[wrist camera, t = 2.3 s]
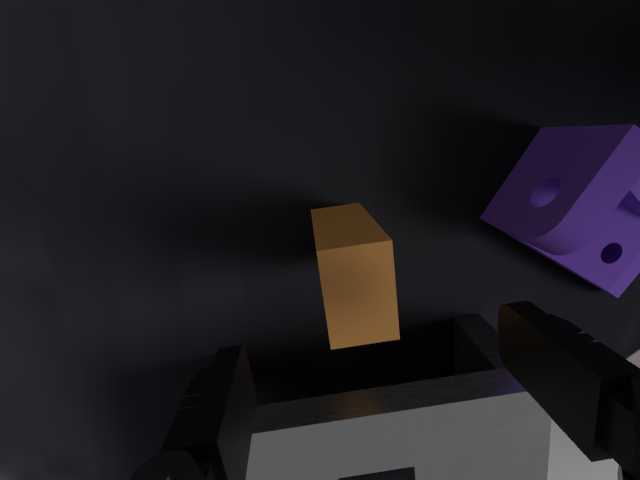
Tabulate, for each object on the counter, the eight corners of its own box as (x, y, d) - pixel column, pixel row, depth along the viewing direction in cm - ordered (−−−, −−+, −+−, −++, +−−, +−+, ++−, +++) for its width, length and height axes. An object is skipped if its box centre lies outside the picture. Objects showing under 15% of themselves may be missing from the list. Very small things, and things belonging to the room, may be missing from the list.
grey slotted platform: (479, 314, 26) (553, 387, 19) (479, 455, 30) (540, 563, 23) (217, 353, 26) (182, 444, 18) (253, 491, 30) (237, 612, 22)
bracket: (477, 217, 24) (542, 246, 18) (538, 127, 23) (633, 124, 16) (600, 289, 27) (698, 339, 20) (663, 212, 25) (792, 239, 18)
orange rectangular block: (354, 197, 23) (392, 240, 14) (361, 259, 24) (399, 339, 15) (309, 203, 23) (316, 251, 14) (319, 266, 24) (330, 349, 15)
